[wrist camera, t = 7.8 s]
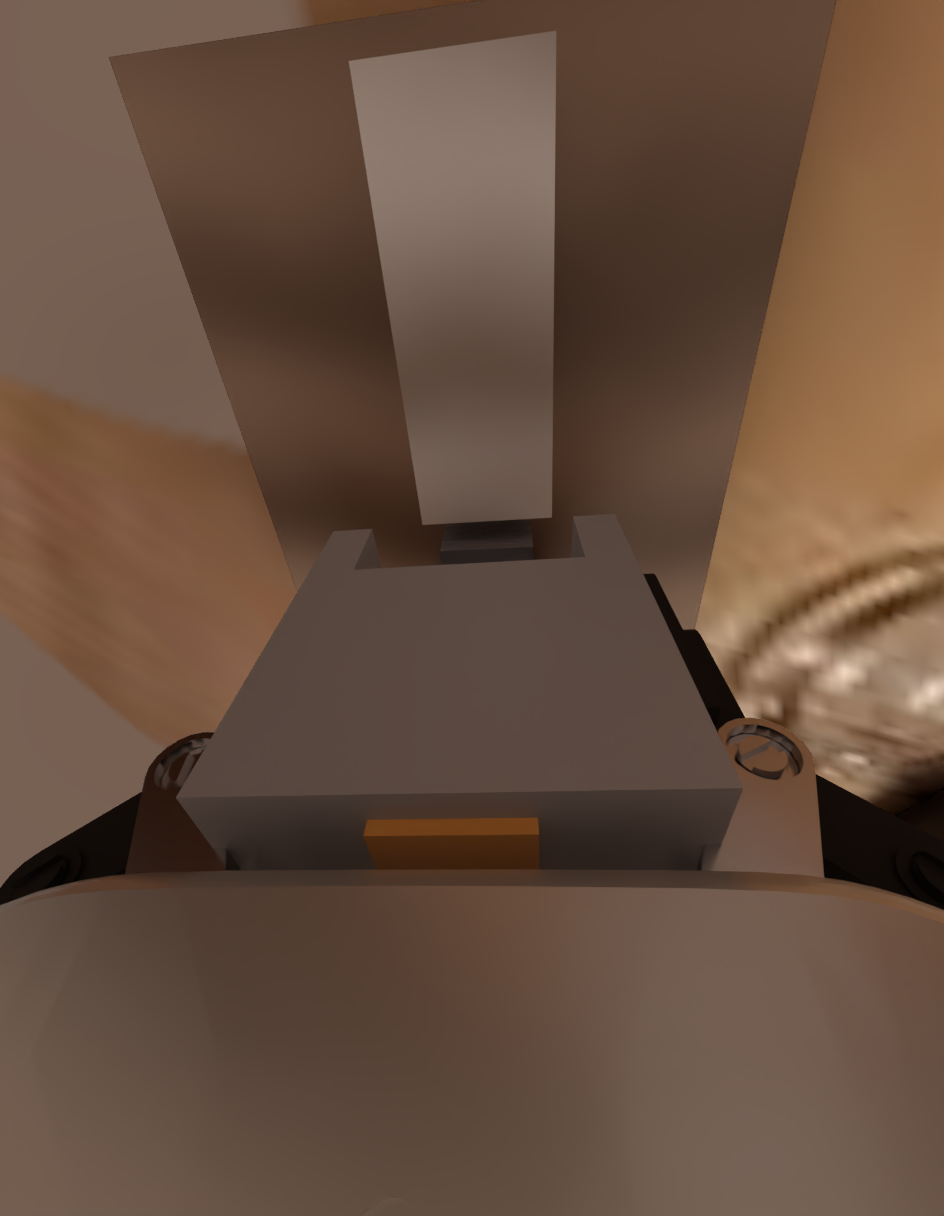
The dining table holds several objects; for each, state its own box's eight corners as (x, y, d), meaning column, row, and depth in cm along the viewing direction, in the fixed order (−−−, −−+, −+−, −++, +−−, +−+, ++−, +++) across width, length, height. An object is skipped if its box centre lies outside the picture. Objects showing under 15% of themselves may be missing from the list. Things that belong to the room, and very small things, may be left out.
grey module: (334, 530, 11) (166, 813, 6) (614, 513, 11) (752, 805, 5) (376, 688, 14) (295, 981, 8) (600, 681, 14) (675, 986, 8)
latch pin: (445, 522, 14) (440, 551, 13) (530, 517, 14) (533, 546, 12) (453, 580, 15) (449, 613, 14) (531, 577, 15) (534, 610, 14)
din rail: (138, 71, 11) (32, 19, 8) (819, -31, 9) (929, -128, 7) (359, 736, 23) (343, 792, 21) (661, 731, 22) (680, 790, 20)
